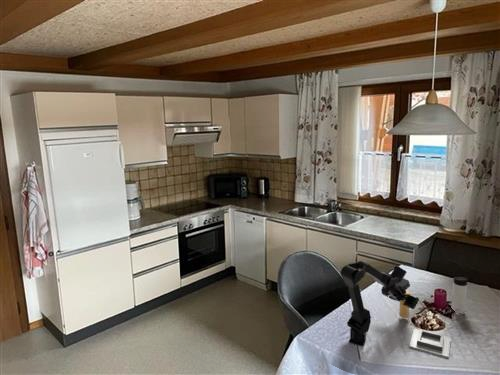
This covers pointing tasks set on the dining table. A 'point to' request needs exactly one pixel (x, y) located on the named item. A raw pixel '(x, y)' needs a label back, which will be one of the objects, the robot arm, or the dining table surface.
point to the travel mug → (459, 295)
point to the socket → (430, 342)
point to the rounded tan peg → (404, 308)
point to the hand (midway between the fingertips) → (406, 303)
